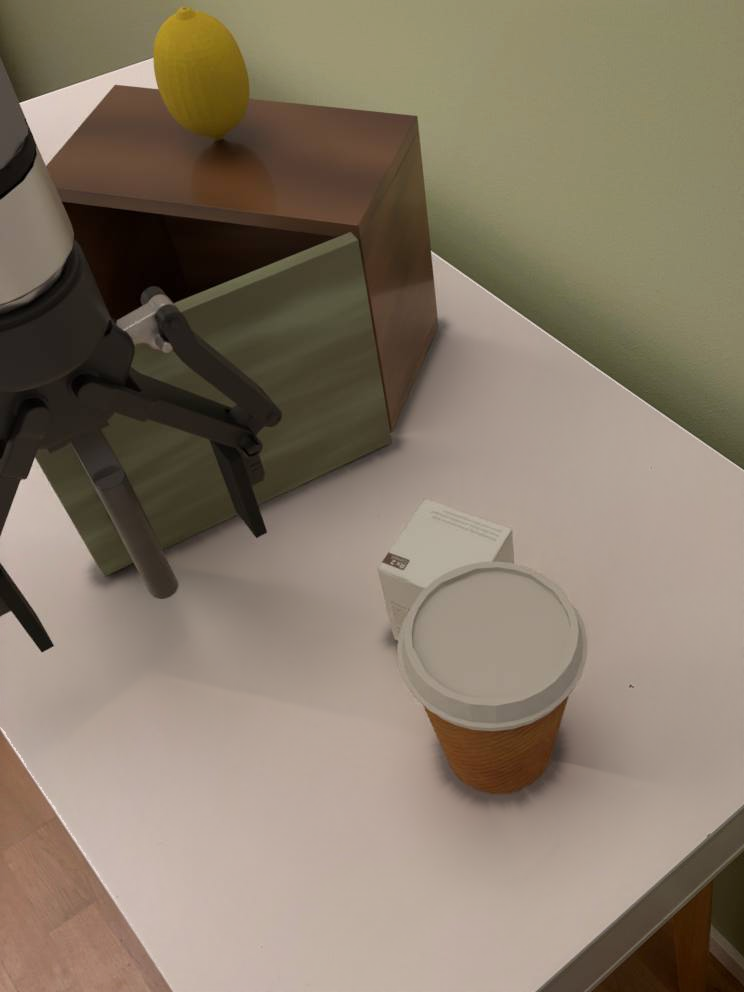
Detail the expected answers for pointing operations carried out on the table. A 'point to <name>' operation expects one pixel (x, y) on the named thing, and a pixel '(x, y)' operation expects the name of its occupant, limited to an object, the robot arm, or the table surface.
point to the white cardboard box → (437, 554)
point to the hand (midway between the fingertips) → (148, 576)
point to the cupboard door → (268, 362)
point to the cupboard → (254, 208)
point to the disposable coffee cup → (493, 669)
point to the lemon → (201, 73)
